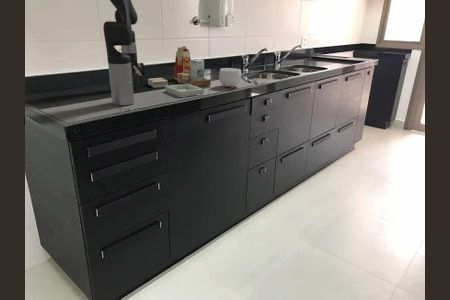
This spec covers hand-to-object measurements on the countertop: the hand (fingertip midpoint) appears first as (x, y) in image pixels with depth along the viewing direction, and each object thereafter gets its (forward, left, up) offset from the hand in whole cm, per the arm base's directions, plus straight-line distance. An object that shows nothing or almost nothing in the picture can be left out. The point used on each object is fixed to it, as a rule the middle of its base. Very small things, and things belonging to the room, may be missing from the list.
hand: (131, 83), depth 167 cm
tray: (-24, -18, -2) cm, 30 cm away
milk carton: (+10, -37, -3) cm, 38 cm away
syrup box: (-12, -33, -3) cm, 35 cm away
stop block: (0, -31, -2) cm, 31 cm away
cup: (-23, -48, -3) cm, 53 cm away
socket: (-12, -33, -2) cm, 35 cm away
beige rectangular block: (0, -15, -3) cm, 15 cm away
